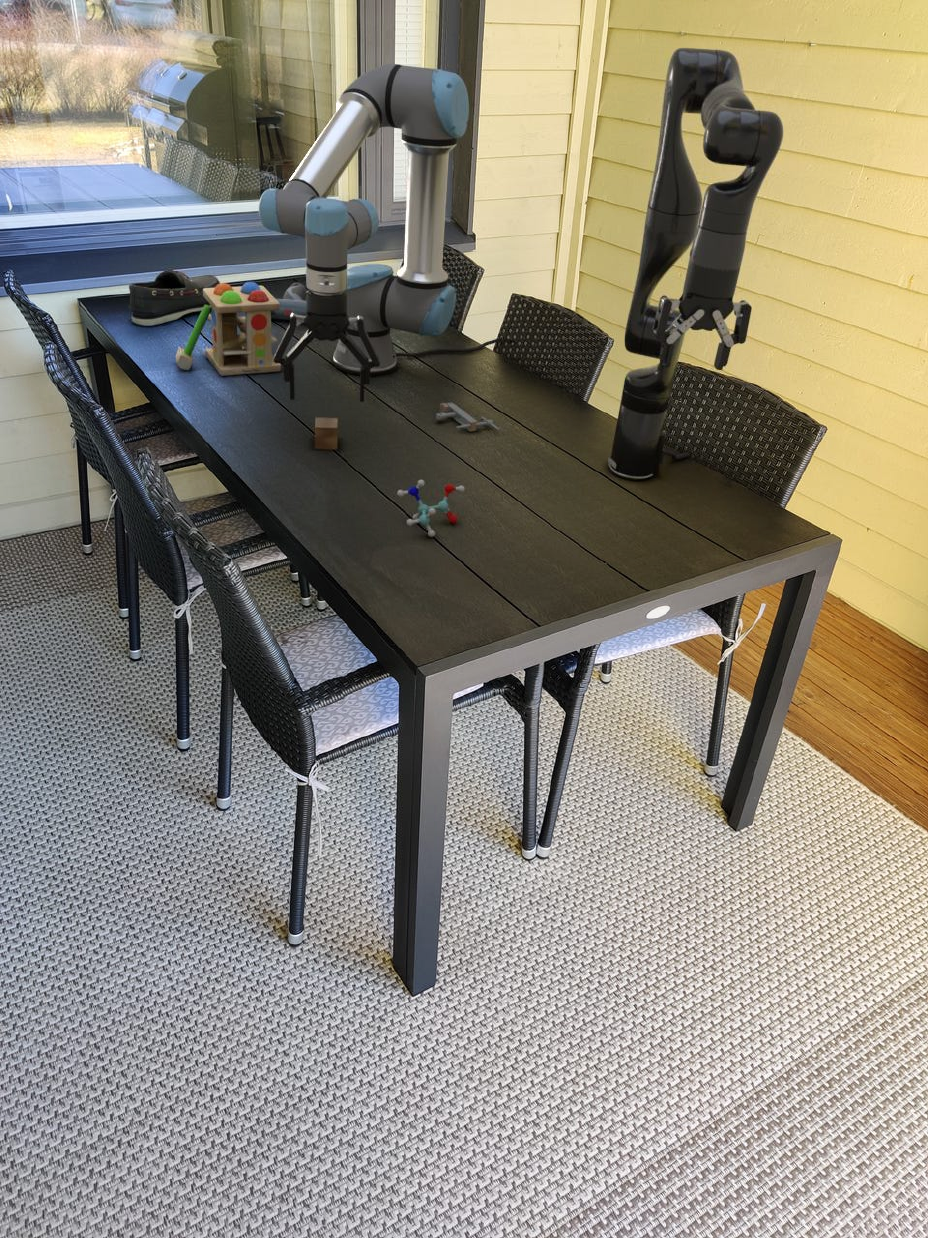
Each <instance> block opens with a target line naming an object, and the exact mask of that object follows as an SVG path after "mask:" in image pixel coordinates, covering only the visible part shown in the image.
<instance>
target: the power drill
mask: <svg viewBox="0 0 928 1238" xmlns="http://www.w3.org/2000/svg"><path fill="white" fill-rule="evenodd" d="M307 290H308V289H307V287H306V285H304V284H303V283H301V282H293V283H292V284H291V285H290V286H289V287H288V288H287V289H286V291H285V292H284V294H283V297H282V298H275V299H276V300H277V301H278V302H279V303H280V310H271V319H274V320H275V319H276V320H283V321H290V316H291V313H292V312H295V313H296V314H297V315H301V316H305V315H306V313H307V300H305V299H306V292H307Z"/></svg>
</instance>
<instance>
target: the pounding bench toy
mask: <svg viewBox="0 0 928 1238" xmlns="http://www.w3.org/2000/svg"><path fill="white" fill-rule="evenodd" d="M203 296H204V297H205V299H206V300H207V301H208V302H209V304H210V305H211V307H210V306H208V305H204V307H203V309H202V311H200V313H199V316H198V318H197V320H196V322H195V324H194V327H193V329H192V331H191V332H190V333H191V334H190V336H189V338H188V340H187V343H186V344H185V347H184V348H182V347H180V346H179V347H178V349H177V351H176V354H175V357H174V358H175V362H176V365H177V366H178V368H179V369H182V370H185V371H189V370H190V369H191V367H192V365H193V363H194V356H193V351H194V348H195V347H196V345H197V342H198V340H199V337H200V336H201V333H202V332H203V329H204V326H205V325H206V322H207V320H209V321H210V322H211V336H212V337H211V338H212V339H211V340H212V348H205V349H204V352H205V353H204V355H205V357H206V359H208V361H209V363H210V364H211V365H212V366H213V367H214V369H215V370H216V371H217V372H218V374H219V375H220V376H222V377H223V376H234V375H235V376H236V375H246V374H247V375H250V374H262V373H275V372H281V370H282V364H279V363H275V362H274V355H273V348H272V347H273V345H272V344H276V343H278V342H279V341H278V339H277V338H276V337H275V336H274V334H272V318H271V310H280V303H279V302H278V301H277V300H276V299H277V298H276V297H274V296H273V295H272V294H271V293H270V292H269V290H268V289H267V288H266V287H264V285H259V284H257V283H256V282H255V281H247V282H245V283H244V284H243V285H242V286H232V285H230V284H229V283H226V282H220V284H218V285H217V286H216V287H215V288H204V289H203ZM238 313H244V314H245V315H244V316H238ZM238 329H239V331H240V333H239V334H238Z"/></svg>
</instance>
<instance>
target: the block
mask: <svg viewBox="0 0 928 1238" xmlns="http://www.w3.org/2000/svg"><path fill="white" fill-rule="evenodd" d="M338 428H339V418H338V417H319V416H318V417H317V416H316V417H315V423H314V449H315V450H332V451H333V450H334V451H337V450H338V440H339V437H338V436H339V435H338V433H339V432H338V430H339V429H338Z"/></svg>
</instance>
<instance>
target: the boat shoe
mask: <svg viewBox="0 0 928 1238" xmlns="http://www.w3.org/2000/svg"><path fill="white" fill-rule="evenodd" d="M218 284H221V282H220V280H219V279H218V277H217V276H215V275H213V274H203V275H199V276H194V277H191V278H190V276H188V275H187V274H185V273H184V272H181V271H179V270H173V269H172V268H171V269H169V268H168V269H166V270H164V271H162V272H159V274H158V275H156V277H155V278H154V280H153V281H148V282H147V281H146V282H133V283H130V284H129V285H128V290H129V306H128V310H130V311H131V315H130V316H131V321H132V323H133V324H135V325H139V326H145V327H150V326H157V325H161V324H165V323H167V322H171V321H175V320H178V319H179V318H181V317H182V316H184V315H187V314H190V313H193V312H194V313H195V312H201V311H202V309H203V307H204V305H208V306H210V307H211V305H210V304H209V302H208V301H207V300H206V299H205V297H204V296H203V289H204V288H215V287H216V286H217V285H218Z"/></svg>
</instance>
